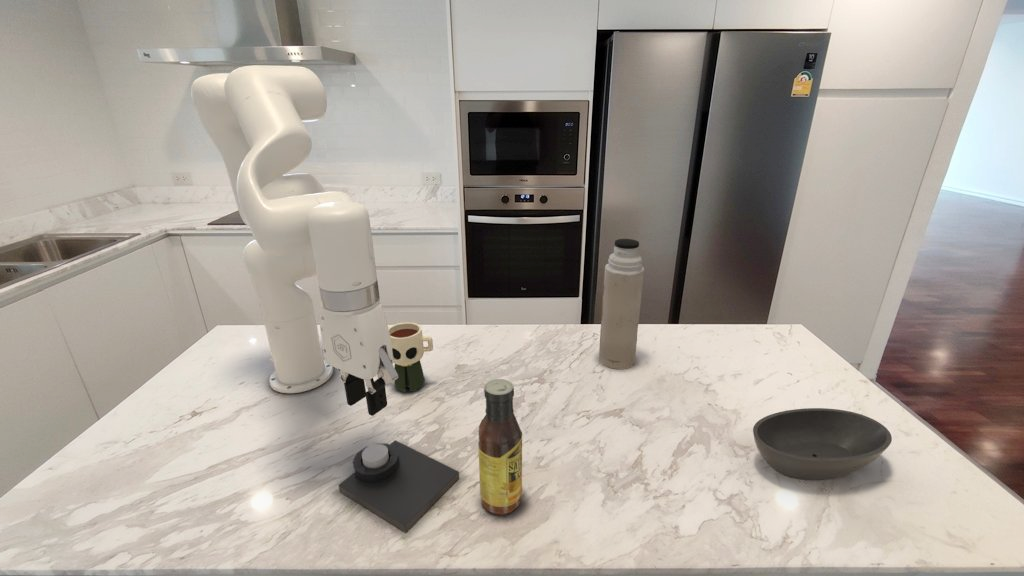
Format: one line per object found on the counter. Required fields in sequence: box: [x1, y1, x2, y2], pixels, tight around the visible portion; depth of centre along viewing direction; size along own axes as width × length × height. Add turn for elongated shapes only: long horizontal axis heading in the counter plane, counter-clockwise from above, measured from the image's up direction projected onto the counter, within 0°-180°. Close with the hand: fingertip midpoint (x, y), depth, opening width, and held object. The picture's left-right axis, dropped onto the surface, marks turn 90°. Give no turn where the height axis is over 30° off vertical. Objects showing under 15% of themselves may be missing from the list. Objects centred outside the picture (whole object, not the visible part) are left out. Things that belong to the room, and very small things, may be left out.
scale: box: [338, 439, 460, 533], centre depth 75 cm, size 16×12×3 cm
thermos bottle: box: [598, 238, 645, 370], centre depth 103 cm, size 8×8×28 cm
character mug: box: [388, 321, 434, 392], centre depth 98 cm, size 11×7×13 cm, turn 94°
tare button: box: [362, 443, 389, 469], centre depth 76 cm, size 4×4×2 cm
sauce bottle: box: [478, 378, 523, 516], centre depth 68 cm, size 6×6×20 cm
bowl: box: [752, 407, 893, 482], centre depth 77 cm, size 12×22×6 cm, turn 99°
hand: (367, 404), depth 72 cm, fingers open, 3 cm apart
